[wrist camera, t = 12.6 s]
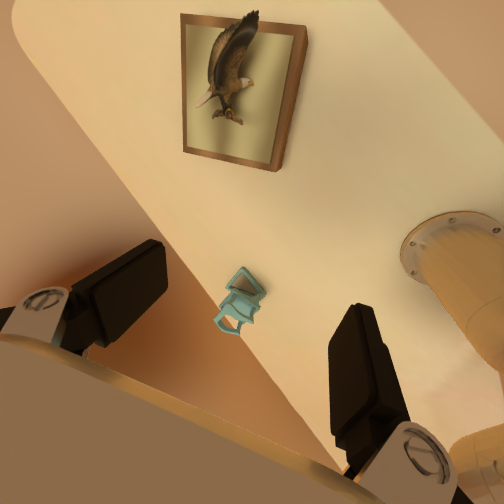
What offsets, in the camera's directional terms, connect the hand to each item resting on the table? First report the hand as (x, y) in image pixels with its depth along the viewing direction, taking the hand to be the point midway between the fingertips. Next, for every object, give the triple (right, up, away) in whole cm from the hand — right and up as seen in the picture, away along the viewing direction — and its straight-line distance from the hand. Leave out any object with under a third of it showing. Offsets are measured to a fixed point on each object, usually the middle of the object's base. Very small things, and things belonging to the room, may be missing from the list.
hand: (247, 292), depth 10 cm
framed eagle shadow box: (-1, +24, +21) cm, 32 cm away
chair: (0, -6, +38) cm, 38 cm away
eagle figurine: (-1, +23, +15) cm, 28 cm away
